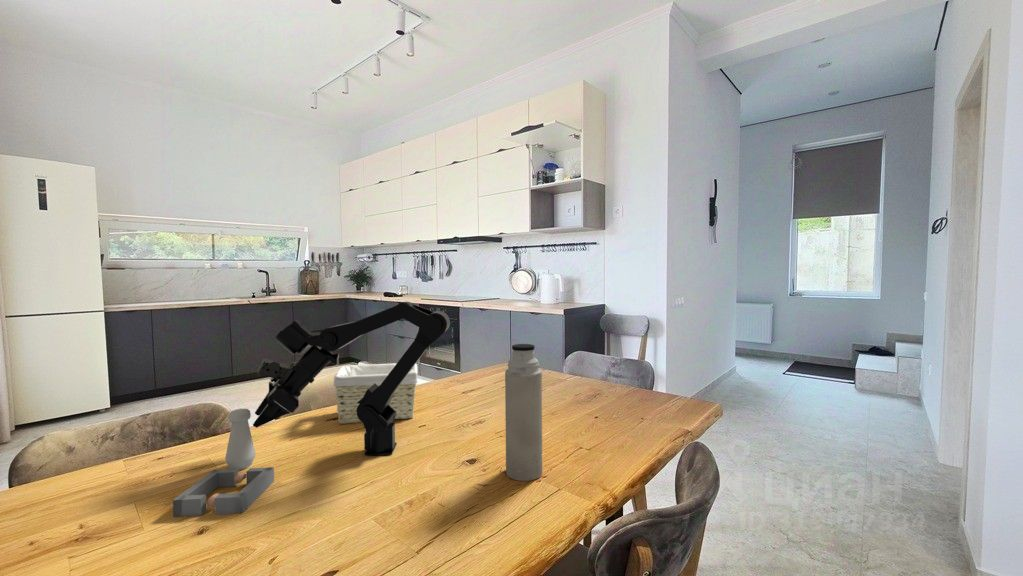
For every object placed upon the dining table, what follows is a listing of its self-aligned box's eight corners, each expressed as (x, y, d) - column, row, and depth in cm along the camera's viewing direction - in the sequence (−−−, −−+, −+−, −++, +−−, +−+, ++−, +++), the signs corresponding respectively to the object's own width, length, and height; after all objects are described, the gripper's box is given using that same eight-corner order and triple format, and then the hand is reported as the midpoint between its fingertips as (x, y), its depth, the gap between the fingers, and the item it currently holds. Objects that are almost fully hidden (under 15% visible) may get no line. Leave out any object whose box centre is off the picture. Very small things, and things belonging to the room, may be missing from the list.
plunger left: (223, 499, 80) (223, 491, 80) (216, 506, 78) (215, 497, 78) (214, 500, 80) (214, 491, 80) (206, 506, 78) (206, 497, 78)
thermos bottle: (512, 462, 98) (511, 341, 97) (546, 466, 95) (545, 342, 94) (500, 477, 90) (499, 346, 89) (536, 483, 88) (535, 348, 87)
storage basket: (417, 404, 142) (416, 360, 142) (418, 420, 127) (418, 371, 126) (341, 410, 137) (340, 365, 136) (333, 427, 121) (332, 376, 121)
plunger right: (247, 478, 89) (247, 470, 89) (242, 483, 87) (241, 475, 87) (239, 478, 89) (239, 471, 89) (233, 483, 86) (233, 475, 86)
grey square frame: (274, 481, 89) (273, 467, 89) (242, 513, 77) (242, 496, 77) (214, 483, 88) (214, 469, 88) (173, 516, 77) (172, 500, 76)
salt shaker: (241, 473, 93) (239, 415, 93) (219, 471, 94) (217, 413, 94) (261, 461, 99) (260, 406, 98) (240, 460, 100) (239, 405, 100)
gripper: (280, 340, 108) (229, 389, 103) (280, 352, 92) (220, 410, 87) (314, 368, 112) (267, 416, 107) (320, 384, 96) (265, 441, 91)
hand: (255, 420), depth 98 cm, fingers open, 9 cm apart
